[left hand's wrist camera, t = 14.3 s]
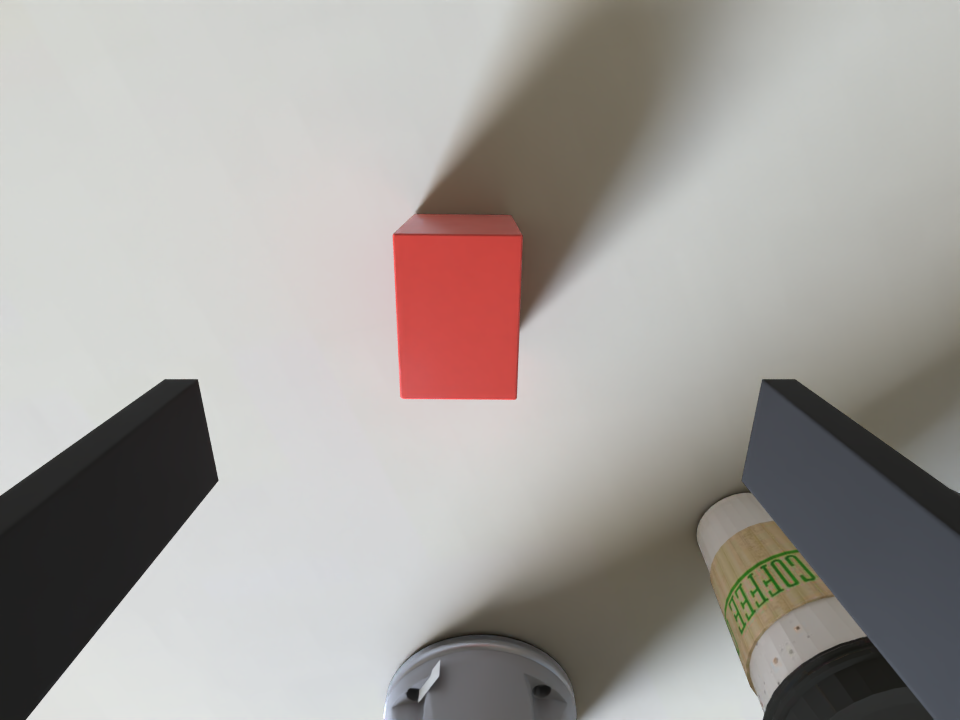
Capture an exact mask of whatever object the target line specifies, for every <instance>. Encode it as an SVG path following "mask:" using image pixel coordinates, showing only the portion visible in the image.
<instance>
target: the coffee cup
mask: <svg viewBox="0 0 960 720" xmlns="http://www.w3.org/2000/svg"><path fill="white" fill-rule="evenodd" d="M697 542H698V545H699V547H700V550H701V553H702V555H703V558H704V560H705V563H706V565H707V568H708V570H709V573H710V580H711V584H712V587H713V589H714V592H715V595H716V597H717V600H718V603H719V605H720V608H721V610H722V613H723V616H724V618H725V621H726V624H727V626H728V629H729V632H730V634H731V637H732V639H733V642H734V645H735V647H736V650H737V653H738V655H739V658H740V661H741V663H742V666H743V668H744V671H745V674H746V676H747V679H748V682H749V684H750V687H751V688H752V690H753V691H754V692H755V694H756V695H757V696H758V698H759V701H760V704H761V706H762V709H763V711H764V717H763V720H934V719H933V718H932V716H931V715H930V714H929V713H928V711H927V710H926V709H925V708H924V706H923V705H922V704H921V703H920V701H919V700H918V699H917V698H916V696H915V695H914V694H913V693H912V691H911V690H910V689H909V688H908V686H907V685H906V684H905V683H904V682H903V680H902V679H901V678H900V677H899V675H898V674H897V673H896V672H895V670H894V669H893V668H892V667H891V665H890V664H889V663H888V662H887V660H886V659H885V658H884V657H883V655H882V654H881V653H880V652H879V651H878V649H877V648H876V647H875V646H874V644H873V643H872V642H871V641H870V639H869V638H868V637H867V636H866V634H865V633H864V632H863V631H862V629H861V628H860V627H859V626H858V624H857V623H856V622H855V621H854V620H853V618H852V617H851V616H850V615H849V613H848V612H847V611H846V610H845V608H844V607H843V606H842V605H841V603H840V602H839V601H838V600H837V598H836V597H835V596H834V595H833V593H832V592H831V591H830V590H829V588H828V587H827V586H826V585H825V584H824V582H823V581H822V580H821V579H820V577H819V576H818V575H817V574H816V572H815V571H814V570H813V569H812V567H811V566H810V565H809V564H808V562H807V561H806V560H805V559H804V557H803V556H802V555H801V554H800V553H799V551H798V550H797V549H796V548H795V546H794V545H793V544H792V543H791V541H790V540H789V539H788V538H787V536H786V535H785V534H784V533H783V531H782V530H781V529H780V528H779V526H778V525H777V524H776V523H775V522H774V520H773V519H772V518H771V517H770V515H769V514H768V513H767V512H766V510H765V509H764V508H763V507H762V505H761V504H760V503H759V502H758V500H757V499H756V498H755V497H754V495H753V494H752V493H740V494H735V495H732V496H729V497H726V498H724V499H722V500H720V501H718V502H717V503H715V504H714V505H713V506H711V507H710V508H709V509H708V510H707V512H706V513H705V514H704V515H703V517H702V518H701V520H700V522H699V525H698V528H697Z"/></svg>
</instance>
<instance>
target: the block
mask: <svg viewBox="0 0 960 720" xmlns="http://www.w3.org/2000/svg"><path fill="white" fill-rule="evenodd" d="M522 248H523V236H522V234H521V232H520V230H519V228H518V226H517V225H516V223H515V221H514V219H513V217H512V216H511V215H466V214H414V215H413V216H412V217H411V218H410V219H409V220H408V221H407V222H406V223H405V224H403V225H402V226H401V227H400V228H399V229H398V230H397V231H396V232H395V233H394V234H393V250H394V271H395V293H396V314H397V335H398V356H399V377H400V397H401V398H402V399H502V400H515V399H516V398H517V379H518V353H519V327H520V301H521V274H522Z"/></svg>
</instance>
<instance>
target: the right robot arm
mask: <svg viewBox="0 0 960 720" xmlns="http://www.w3.org/2000/svg"><path fill="white" fill-rule="evenodd" d="M384 720H577V710H576V704H575V699H574V693H573V688H572V685H571V682H570V680H569V678H568V676H567V675H566V673H565V671H564V670H563V669H562V668H561V666H560V665H559V664H558V663H557V662H556V661H555V660H554V659H553V658H551V657H550V656H549V655H548V654H546V653H544V652H543V651H541V650H540V649H538V648H536V647H534V646H532V645H530V644H527V643H525V642H522V641H519V640H516V639H511V638H507V637H501V636H494V635H467V636H460V637H455V638H450V639H446V640H443V641H440V642H437V643H435V644H432V645H430V646H428V647H426V648H424V649H422V650H420V651H419V652H417V653H415V654H414V655H413V656H411V657H410V658H409V659H408V660H407V661H405V662H404V663H403V664H402V665H401V667H400V668H399V669H398V670H397V672H396V673H395V675H394V676H393V678H392V680H391V682H390V685H389V688H388V692H387V697H386V703H385V709H384Z"/></svg>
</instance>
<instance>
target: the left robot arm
mask: <svg viewBox="0 0 960 720" xmlns="http://www.w3.org/2000/svg"><path fill="white" fill-rule="evenodd" d="M217 482H218V476H217V471H216V466H215V461H214V457H213V452H212V447H211V442H210V437H209V432H208V427H207V422H206V417H205V412H204V407H203V403H202V398H201V393H200V388H199V383H198V379H165V380H163V381H162V382H160V383H159V384H158V385H156V386H155V387H153V388H152V389H151V390H149V391H148V392H146V393H145V394H144V395H142V396H141V397H139V398H138V399H136V400H135V401H134V402H132V403H131V404H129V405H128V406H127V407H125V408H124V409H122V410H121V411H120V412H118V413H117V414H115V415H114V416H112V417H111V418H110V419H108V420H107V421H105V422H104V423H103V424H101V425H100V426H98V427H97V428H96V429H94V430H93V431H91V432H90V433H88V434H87V435H86V436H84V437H83V438H81V439H80V440H79V441H77V442H76V443H74V444H73V445H72V446H70V447H69V448H67V449H66V450H64V451H63V452H62V453H60V454H59V455H57V456H56V457H55V458H53V459H52V460H50V461H49V462H48V463H46V464H45V465H43V466H42V467H40V468H39V469H38V470H36V471H35V472H33V473H32V474H31V475H29V476H28V477H26V478H25V479H23V480H22V481H21V482H19V483H18V484H16V485H15V486H14V487H12V488H11V489H9V490H8V491H7V492H5V493H4V494H2V495H1V496H0V720H26V719H27V718H28V716H29V715H30V714H31V713H32V711H33V710H34V709H35V708H36V706H37V705H38V704H39V703H40V701H41V700H42V699H43V698H44V696H45V695H46V694H47V693H48V691H49V690H50V689H51V688H52V686H53V685H54V684H55V683H56V682H57V680H58V679H59V678H60V677H61V675H62V674H63V673H64V672H65V670H66V669H67V668H68V667H69V665H70V664H71V663H72V662H73V660H74V659H75V658H76V657H77V655H78V654H79V653H80V652H81V651H82V649H83V648H84V647H85V646H86V644H87V643H88V642H89V641H90V639H91V638H92V637H93V636H94V634H95V633H96V632H97V631H98V629H99V628H100V627H101V626H102V624H103V623H104V622H105V621H106V620H107V618H108V617H109V616H110V615H111V613H112V612H113V611H114V610H115V608H116V607H117V606H118V605H119V603H120V602H121V601H122V600H123V598H124V597H125V596H126V595H127V593H128V592H129V591H130V590H131V588H132V587H133V586H134V585H135V584H136V582H137V581H138V580H139V579H140V577H141V576H142V575H143V574H144V572H145V571H146V570H147V569H148V567H149V566H150V565H151V564H152V562H153V561H154V560H155V559H156V557H157V556H158V555H159V554H160V553H161V551H162V550H163V549H164V548H165V546H166V545H167V544H168V543H169V541H170V540H171V539H172V538H173V536H174V535H175V534H176V533H177V531H178V530H179V529H180V528H181V526H182V525H183V524H184V523H185V522H186V520H187V519H188V518H189V517H190V515H191V514H192V513H193V512H194V510H195V509H196V508H197V507H198V505H199V504H200V503H201V502H202V500H203V499H204V498H205V497H206V495H207V494H208V493H209V492H210V490H211V489H212V488H213V487H214V486H215V484H216V483H217ZM742 482H743V483H744V484H745V486H746V487H747V488H748V489H749V490H750V492H751V493H752V494H753V495H754V497H755V498H756V499H757V500H758V502H759V503H760V504H761V505H762V507H763V508H764V509H765V510H766V512H767V513H768V514H769V515H770V517H771V518H772V519H773V520H774V522H775V523H776V524H777V525H778V526H779V528H780V529H781V530H782V531H783V533H784V534H785V535H786V536H787V538H788V539H789V540H790V541H791V543H792V544H793V545H794V546H795V548H796V549H797V550H798V551H799V553H800V554H801V555H802V556H803V557H804V559H805V560H806V561H807V562H808V564H809V565H810V566H811V567H812V569H813V570H814V571H815V572H816V574H817V575H818V576H819V577H820V579H821V580H822V581H823V582H824V584H825V585H826V586H827V587H828V588H829V590H830V591H831V592H832V593H833V595H834V596H835V597H836V598H837V600H838V601H839V602H840V603H841V605H842V606H843V607H844V608H845V610H846V611H847V612H848V613H849V615H850V616H851V617H852V618H853V620H854V621H855V622H856V623H857V624H858V626H859V627H860V628H861V629H862V631H863V632H864V633H865V634H866V636H867V637H868V638H869V639H870V641H871V642H872V643H873V644H874V646H875V647H876V648H877V649H878V651H879V652H880V653H881V654H882V655H883V657H884V658H885V659H886V660H887V662H888V663H889V664H890V665H891V667H892V668H893V669H894V670H895V672H896V673H897V674H898V675H899V677H900V678H901V679H902V680H903V682H904V683H905V684H906V685H907V686H908V688H909V689H910V690H911V691H912V693H913V694H914V695H915V696H916V698H917V699H918V700H919V701H920V703H921V704H922V705H923V706H924V708H925V709H926V710H927V711H928V713H929V714H930V715H931V716H932V718H933V719H934V720H960V493H958V492H955V491H953V490H951V489H949V488H948V487H946V486H945V485H944V484H942V483H941V482H939V481H938V480H936V479H935V478H934V477H932V476H931V475H929V474H928V473H927V472H925V471H924V470H922V469H921V468H920V467H918V466H917V465H915V464H914V463H912V462H911V461H910V460H908V459H907V458H905V457H904V456H903V455H901V454H900V453H898V452H897V451H896V450H894V449H893V448H891V447H890V446H888V445H887V444H886V443H884V442H883V441H881V440H880V439H879V438H877V437H876V436H874V435H873V434H872V433H870V432H869V431H867V430H866V429H864V428H863V427H862V426H860V425H859V424H857V423H856V422H855V421H853V420H852V419H850V418H849V417H848V416H846V415H845V414H843V413H842V412H840V411H839V410H838V409H836V408H835V407H833V406H832V405H831V404H829V403H828V402H826V401H825V400H824V399H822V398H821V397H819V396H818V395H816V394H815V393H814V392H812V391H811V390H809V389H808V388H807V387H805V386H804V385H802V384H801V383H800V382H798V381H797V380H795V379H762V383H761V388H760V393H759V398H758V403H757V407H756V412H755V417H754V422H753V427H752V432H751V437H750V442H749V447H748V452H747V457H746V461H745V466H744V471H743V476H742Z"/></svg>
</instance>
